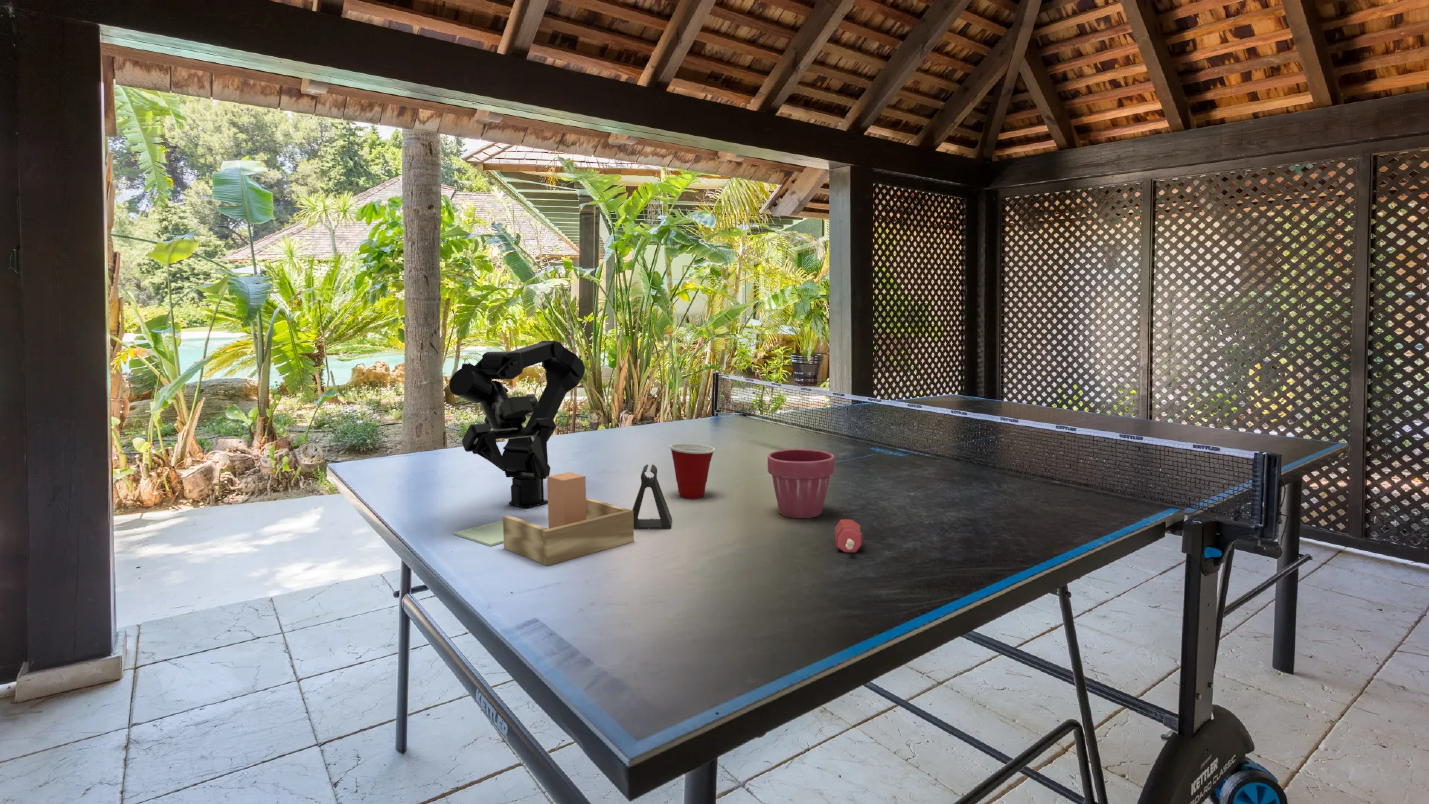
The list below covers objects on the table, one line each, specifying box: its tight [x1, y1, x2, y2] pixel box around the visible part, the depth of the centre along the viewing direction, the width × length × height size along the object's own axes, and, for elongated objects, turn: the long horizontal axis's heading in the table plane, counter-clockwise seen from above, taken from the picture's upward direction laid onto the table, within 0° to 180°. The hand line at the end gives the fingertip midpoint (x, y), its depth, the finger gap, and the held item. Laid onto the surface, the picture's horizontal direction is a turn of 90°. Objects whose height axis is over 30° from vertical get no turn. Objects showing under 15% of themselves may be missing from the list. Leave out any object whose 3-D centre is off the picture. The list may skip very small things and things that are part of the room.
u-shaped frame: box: [502, 497, 635, 566], centre depth 143 cm, size 14×19×6 cm
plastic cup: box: [669, 442, 716, 499], centre depth 180 cm, size 11×11×12 cm
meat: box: [834, 518, 863, 554], centre depth 141 cm, size 12×5×5 cm, turn 173°
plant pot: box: [767, 448, 835, 519], centre depth 165 cm, size 14×14×13 cm
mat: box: [453, 519, 504, 547], centre depth 151 cm, size 12×12×1 cm
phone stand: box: [631, 463, 673, 530], centre depth 156 cm, size 9×6×12 cm, turn 91°
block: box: [546, 471, 587, 529], centre depth 143 cm, size 5×5×13 cm
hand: (526, 467), depth 152 cm, fingers open, 9 cm apart
